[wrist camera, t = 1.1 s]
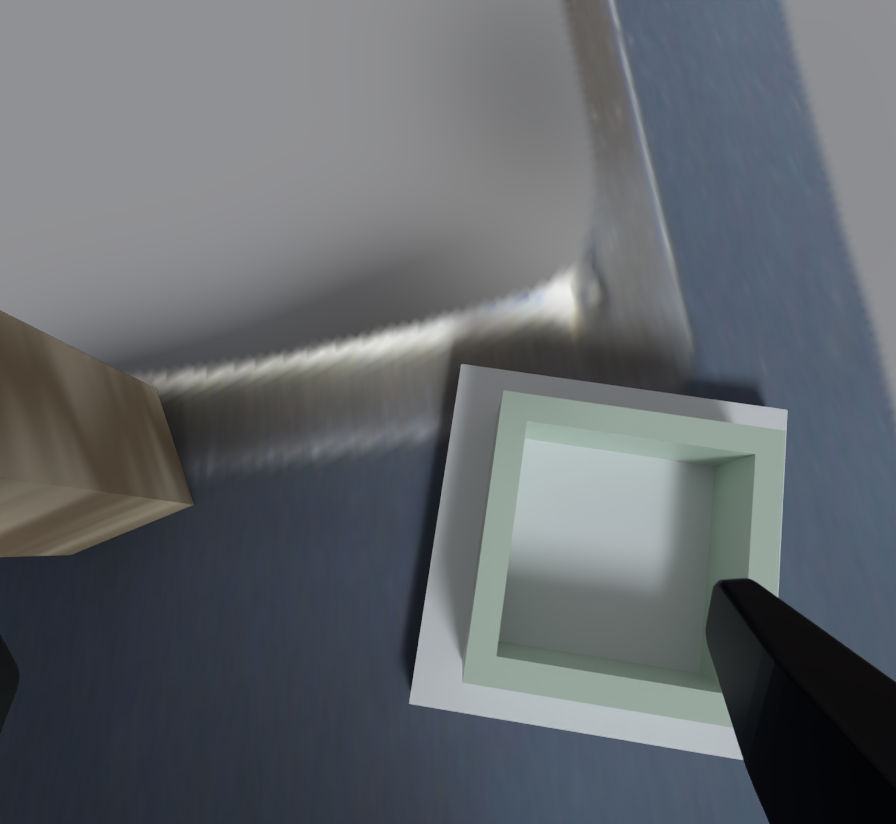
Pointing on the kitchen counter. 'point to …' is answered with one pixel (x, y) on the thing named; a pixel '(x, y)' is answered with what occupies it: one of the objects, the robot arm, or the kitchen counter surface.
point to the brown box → (77, 448)
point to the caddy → (595, 555)
